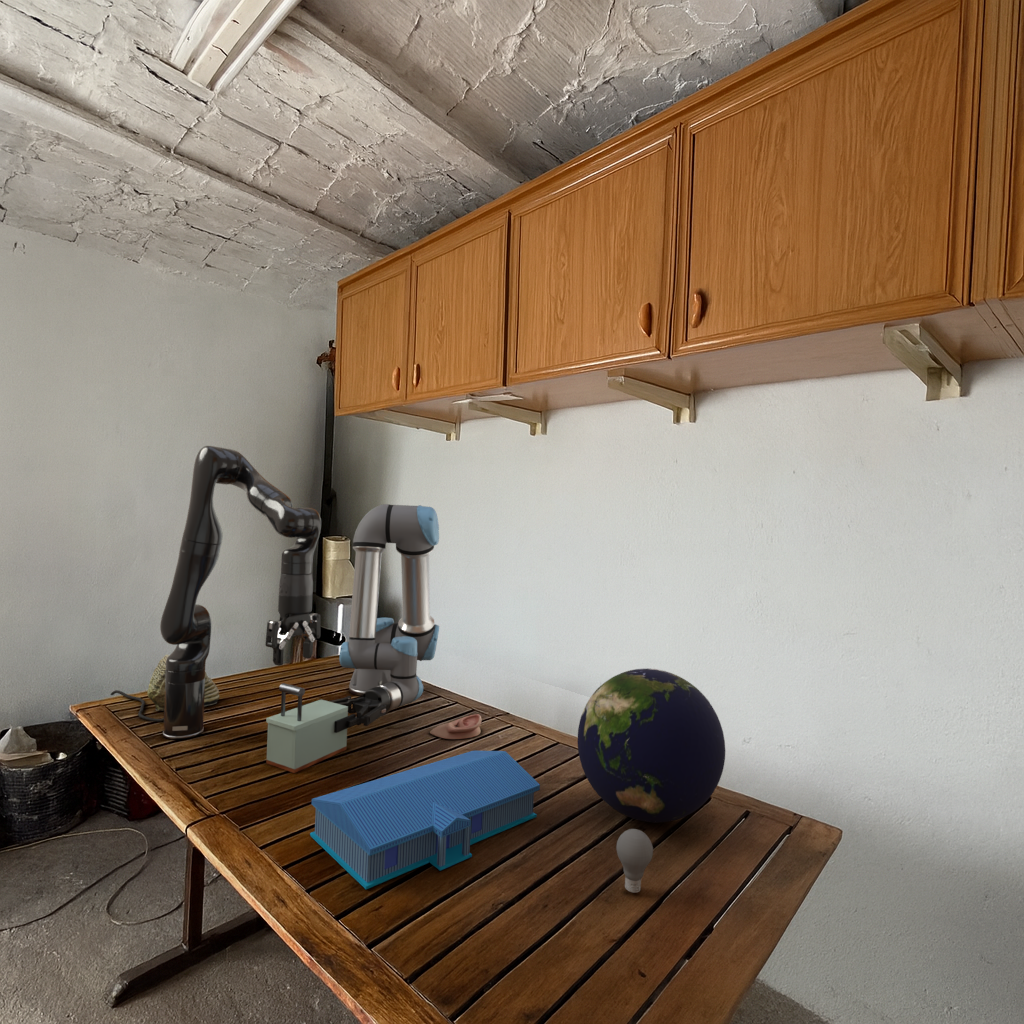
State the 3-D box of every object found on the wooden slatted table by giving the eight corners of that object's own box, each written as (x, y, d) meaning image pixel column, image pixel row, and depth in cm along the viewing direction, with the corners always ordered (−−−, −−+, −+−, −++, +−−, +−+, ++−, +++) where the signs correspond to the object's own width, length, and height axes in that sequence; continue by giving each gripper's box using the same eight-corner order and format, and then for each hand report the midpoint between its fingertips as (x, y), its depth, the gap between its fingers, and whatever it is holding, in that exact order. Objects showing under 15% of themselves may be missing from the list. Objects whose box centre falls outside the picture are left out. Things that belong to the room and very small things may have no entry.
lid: (294, 730, 144) (295, 692, 144) (266, 722, 148) (267, 685, 148) (348, 710, 159) (349, 675, 159) (320, 703, 163) (322, 669, 163)
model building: (376, 899, 100) (378, 836, 100) (308, 834, 119) (310, 781, 118) (548, 822, 127) (550, 773, 127) (472, 779, 145) (474, 735, 145)
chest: (294, 773, 144) (295, 730, 144) (266, 763, 149) (267, 721, 149) (346, 749, 159) (348, 710, 159) (319, 741, 164) (320, 703, 163)
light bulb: (610, 879, 108) (613, 822, 108) (644, 879, 109) (647, 822, 109) (619, 902, 102) (622, 840, 102) (655, 901, 103) (658, 840, 103)
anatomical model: (426, 721, 169) (440, 708, 180) (425, 736, 169) (439, 722, 181) (474, 727, 167) (485, 713, 178) (473, 742, 167) (484, 727, 178)
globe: (555, 830, 124) (562, 678, 123) (594, 772, 152) (600, 647, 151) (715, 870, 113) (723, 702, 112) (726, 799, 140) (732, 664, 140)
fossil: (144, 707, 182) (145, 655, 182) (212, 696, 194) (213, 647, 194) (151, 716, 175) (153, 662, 175) (221, 703, 188) (223, 653, 188)
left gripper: (282, 597, 140) (279, 670, 141) (329, 591, 153) (327, 657, 153) (259, 593, 144) (256, 664, 144) (307, 587, 156) (305, 653, 157)
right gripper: (411, 721, 172) (353, 747, 152) (350, 705, 182) (289, 728, 163) (412, 693, 171) (354, 716, 152) (351, 679, 182) (290, 699, 162)
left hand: (293, 661), depth 149 cm, fingers open, 8 cm apart
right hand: (320, 722), depth 157 cm, fingers closed on chest, 9 cm apart
